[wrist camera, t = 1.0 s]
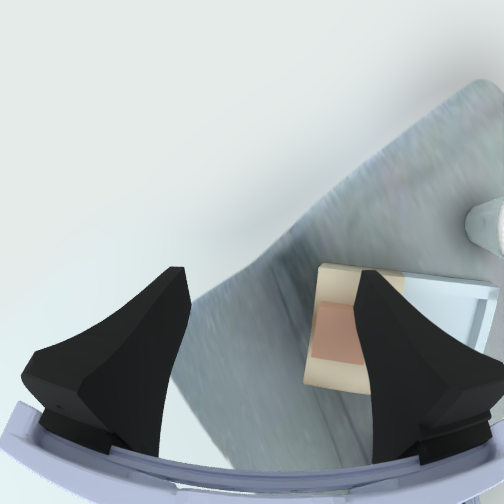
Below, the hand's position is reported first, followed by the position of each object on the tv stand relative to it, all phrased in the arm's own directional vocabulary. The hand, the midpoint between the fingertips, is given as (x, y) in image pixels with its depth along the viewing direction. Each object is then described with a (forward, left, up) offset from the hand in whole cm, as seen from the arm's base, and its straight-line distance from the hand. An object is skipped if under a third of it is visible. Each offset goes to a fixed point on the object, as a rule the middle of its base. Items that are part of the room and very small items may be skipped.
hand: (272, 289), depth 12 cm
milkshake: (+3, -13, -13) cm, 19 cm away
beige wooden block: (-6, -3, -13) cm, 14 cm away
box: (-6, -11, -13) cm, 18 cm away
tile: (-5, -3, -10) cm, 12 cm away
